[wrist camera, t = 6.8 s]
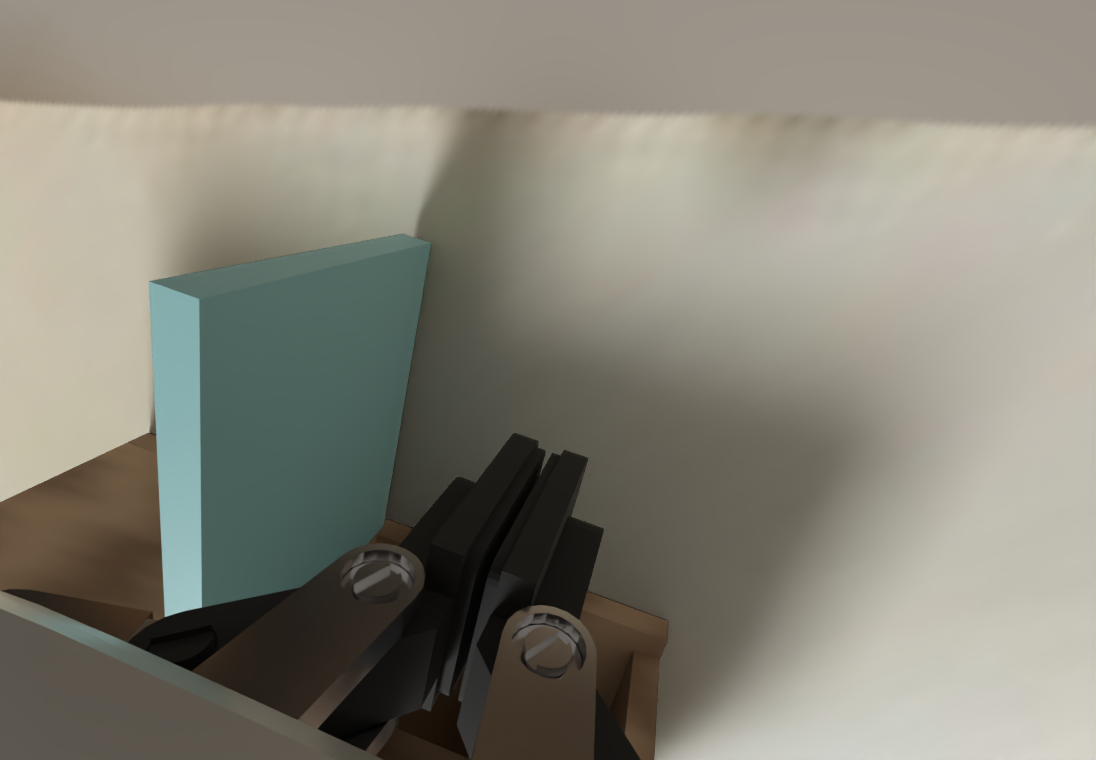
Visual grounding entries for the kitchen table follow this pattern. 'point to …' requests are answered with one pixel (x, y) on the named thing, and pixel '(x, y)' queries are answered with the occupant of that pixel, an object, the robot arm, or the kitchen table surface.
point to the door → (279, 413)
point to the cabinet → (137, 582)
